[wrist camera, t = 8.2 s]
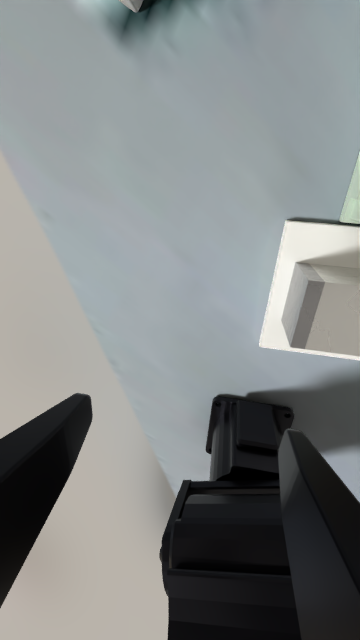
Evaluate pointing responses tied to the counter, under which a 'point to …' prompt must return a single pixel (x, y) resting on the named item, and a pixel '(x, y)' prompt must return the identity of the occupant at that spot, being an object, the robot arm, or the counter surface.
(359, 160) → the pale green square tray
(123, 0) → the coffee box
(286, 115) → the counter surface
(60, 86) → the counter surface
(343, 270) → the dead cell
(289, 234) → the long white tray
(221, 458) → the robot arm
